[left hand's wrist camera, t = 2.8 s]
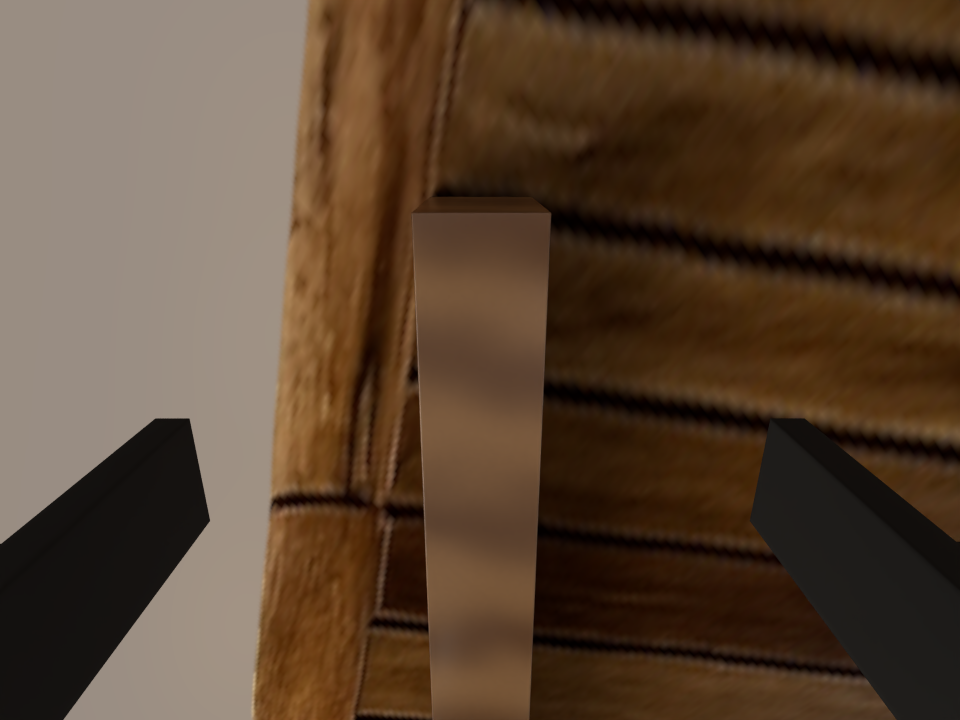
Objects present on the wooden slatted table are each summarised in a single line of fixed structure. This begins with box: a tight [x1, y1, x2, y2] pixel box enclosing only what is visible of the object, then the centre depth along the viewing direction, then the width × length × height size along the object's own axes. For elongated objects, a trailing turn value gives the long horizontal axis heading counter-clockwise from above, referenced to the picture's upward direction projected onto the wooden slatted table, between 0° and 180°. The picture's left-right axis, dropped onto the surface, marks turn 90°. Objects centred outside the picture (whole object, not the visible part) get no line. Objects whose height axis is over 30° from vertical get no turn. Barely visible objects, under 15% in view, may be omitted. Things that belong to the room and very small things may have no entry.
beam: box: [411, 197, 551, 720], centre depth 30 cm, size 47×5×7 cm, turn 0°
